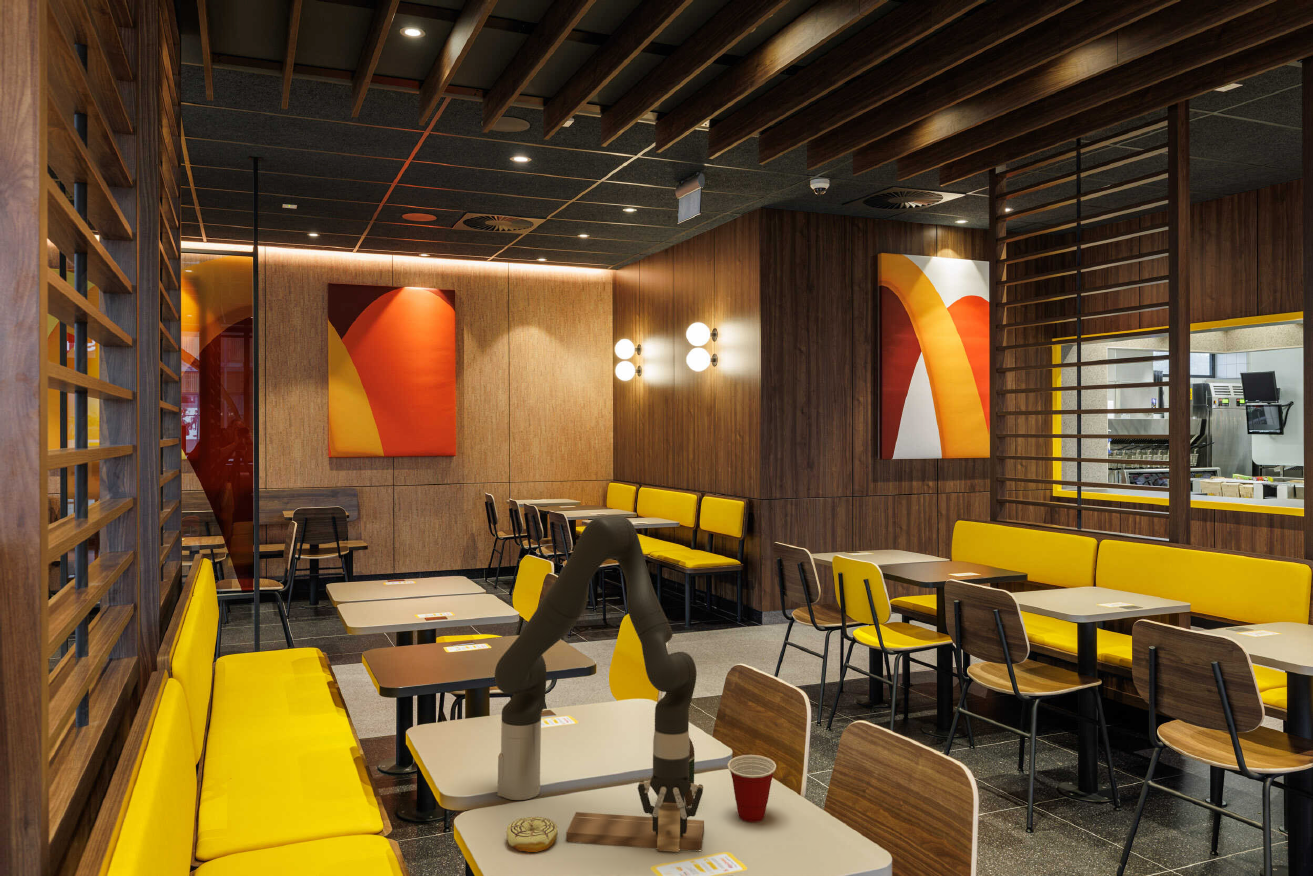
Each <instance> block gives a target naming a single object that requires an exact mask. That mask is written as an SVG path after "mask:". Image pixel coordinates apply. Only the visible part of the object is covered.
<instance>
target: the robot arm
mask: <svg viewBox="0 0 1313 876" xmlns="http://www.w3.org/2000/svg"><path fill="white" fill-rule="evenodd" d="M607 560H616V562H617V563H618V565H619V566H620V569H621V570H622V572H623V575H624V578H625V579H624V580H625V584H626V593H627V594H626V599H627V601H626V605H627V613H628V615H629V618H630V619H629V620H630V622H631V624H632V626H633V628H634V631H635V634H636V635H637V637H638V639H639V642H640V644H641V649H642V656H643V662H644V667H645V673H646V676H647V678H648V681H649V682H650V684H651V685H652V686H653V687H654V688H655V689H656V690H657V691H659V692H662V693H665V694H664V696H663V697H662V698H661V699H659V700H658V702H657V703H656V704H655V708H654V731H653V732H654V733H653V740H652V777H651V778H650V780H647V781H644V780H640V781H638V786H637V790H638V794H639V799H640V802H641V806H642V808H643V809H642V810H643V813H645V814H650V815H651V817H653V826H652V829H653V832H656V835H658V810H659V809H660V808H661V805H662V802H668V801H671V802H676V803H677V806H678V809H679V810H680V815H681V817H680V836H681V837H683V834H686V832H687V819H689V818H691V817H692V818H693V817H695V816H696V814H697V811H698V808H699V805H700V802H701V799H702V796H703V792H704V785H703V784H702V783H701V784H699V783H698V784H696V783H694V784H693V783H691V780H690V778H689V751H690V742H689V738H690V735H689V734H690V733H689V728H690V727H689V725H690V724H689V722H690V721H689V720H690V719H689V717H690V713H689V710H690V706H691V703H692V699H693V697H694V692H695V687H696V683H697V668H696V667H697V666H696V663H695V661H694V659H693V657H692V656H691V654H689V653H687V652H686V651H676V652H673V653H670V654H669V653H668V648H667V643H668V642H670V641H671V640H672V637H673V635H674V634H673V630H672V627H671V625H670V622H669V621H668V619H667V616H666V614H665V611H664V610H663V608H662V605H661V603H660V601H659V599H658V596H657V594H656V591H655V589H654V587H653V584H652V579H651V577H650V572H649V569H648V566H647V563H646V559H645V555H644V553H643V549H642V546H641V542H640V538H639V535H638V532H637V530H636V527H635V526H634V524H633V522H632V521H631V520H630V519H628V518H627V517H624V516H617V515H616V516H601V517H596V518H594V519H592V520H591V521H588V523H587V524H586V526H585V527H584V529H583V530H582V532H581V534H580V536H579V538H578V540H577V541H576V544H575V547H574V548H573V550H572V552H571V554H570V556H569V557H568V559H567V561H566V563H565V565H564V566H563V568H562V569H561V570H560V572H559V574H558V576H557V577H556V579H555V581H554V582H553V583H552V584H551V586H550V587H549V589H548V590H547V592H546V593H545V595H544V596H543V598H542V600H541V602H539V605H538V606H537V608H536V609H535V610H534V613H533V614H532V616H531V617H530V619H529V620H528V622H527V623H526V624H525V626H524V628H523V629H522V631H521V633H520V634H519V635H518V636H517V638H516V639H515V640H514V642H512V644H511V645H510V646H509V647H508V648H507V649H506V651H505V652H504V653H503V655H502V656H501V657H500V659H499V660H498V662H497V663H496V665H495V670H494V682H495V685H496V687H497V688H498V690H499V691H500V692H501V693H503V694H506V695H512V697H510V700H508V702H507V703H505V705H504V706H503V707H502V709H501V722H500V723H501V731H500V732H501V735H500V739H501V740H500V753H498V757H497V758H498V759H497V797H502V798H504V799H506V800H513V801H524V800H529V799H533V798H535V797H537V796H538V795H539V794H540V793H541V753H542V752H541V751H542V750H541V744H542V743H541V742H542V735H541V734H542V712H543V711H544V708H545V703H546V690H547V664H546V661H545V658H544V656H543V655H544V654H545V653H546V652H547V651H549V649H550V648H551V647H553V646H554V645H555V644H557V643H558V642H559V641H561V639H563V638H564V637H565V636H566V635H567V634H569V632H570V631H571V630H572V629H573V628H574V626H575V625H576V623H577V622H578V621H579V619H580V618H581V616H582V615H583V613H584V611H585V610H586V607H587V605H588V600H589V588H590V587H589V586H590V582H591V581H592V578H593V576H594V575H595V574H596V572H598V569H599V568H600V567H601V566H602V565H603V563H604V562H606V561H607ZM650 788H651V789H652V790H653V792H654V793H655V795H656V797H657V798H656V801H655V805H653V804H652V803H651V799H650V797H649V794H648V793H649V792H650ZM689 789H691V790H692V795H693V796H694V799H693V802H692V805H691V806H689V807H688V808H687V806H686V803H685V798H684V796H685V794H686V793H687V792H688V791H689Z"/></svg>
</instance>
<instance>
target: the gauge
mask: <svg viewBox="0 0 1313 876" xmlns="http://www.w3.org/2000/svg"><path fill="white" fill-rule="evenodd" d="M680 817H681V815H680V810H679V809H678V806H677V803H662V805H661V808H660V809H659V810H658V839H657V848H656V850H657V851H660V852H661V851H663V852H675V853H679V852H680V850H679V841H680Z"/></svg>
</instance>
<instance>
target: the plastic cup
mask: <svg viewBox="0 0 1313 876" xmlns="http://www.w3.org/2000/svg"><path fill="white" fill-rule="evenodd" d="M727 768H728V770H729V772H730V775H731V779H732V785H733V791H734V792H733V793H734V799H735V802H736V803H735V804H736V809H737V814H738V818H739V819H740V820H742V821H744V822H749V823H757V822H761V821H763V820H764V819H765V816H766V811H767V806H768V802H769V796H770V791H771V785H772V780H773V778H774V777H773V776H774V773H775V771H776V769H777V764H776V763H775V761H774V760H772V759H771V758H769V757H766V756H762V755H756V754H743V755H739V756H736V757H733V758H731V759H730V760H729V761H728V763H727Z"/></svg>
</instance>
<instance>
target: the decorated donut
mask: <svg viewBox="0 0 1313 876" xmlns="http://www.w3.org/2000/svg"><path fill="white" fill-rule="evenodd" d="M505 833H506V838H507V842H508V844H509V845H510V846H511V847H513V848H514V849H515V850H517V849H518V850H521V851H520V852H522V851H526V852H525V853H529V852H536V853H538V852H537V851H539V852H542V851H546V850H547V849H549V848H551V846H552V845H553V844H554V843H555V841H556V840H557V837H558V834H559V833H558V825H557V823H555V822H554V821H553V820H551V819H550V818H546V817H542V816H540V817H539V816H534V817H532V816H529V817H523V818H519V819H516V820H514V821H513V822H511V823H510V824H509V825H507V827H506V831H505ZM518 850H517V851H518Z"/></svg>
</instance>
